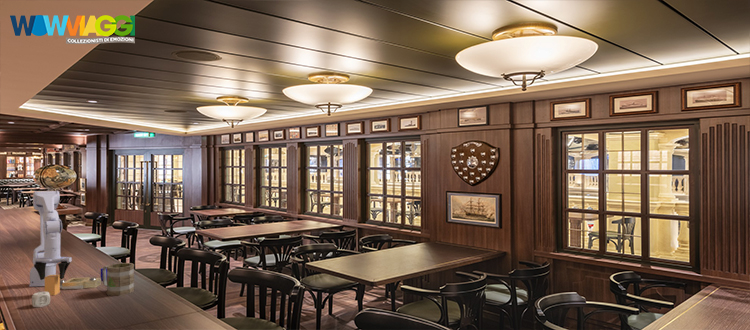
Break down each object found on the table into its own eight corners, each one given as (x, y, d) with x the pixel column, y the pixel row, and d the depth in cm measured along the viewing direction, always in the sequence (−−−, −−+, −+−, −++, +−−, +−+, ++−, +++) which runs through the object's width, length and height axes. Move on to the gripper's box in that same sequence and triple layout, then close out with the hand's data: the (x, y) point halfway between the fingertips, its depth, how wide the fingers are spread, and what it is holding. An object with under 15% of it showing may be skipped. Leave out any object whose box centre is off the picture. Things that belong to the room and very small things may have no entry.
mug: (139, 290, 200) (140, 263, 199) (118, 297, 189) (119, 269, 189) (113, 286, 205) (114, 261, 205) (92, 293, 194) (92, 266, 194)
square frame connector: (50, 289, 199) (50, 281, 199) (60, 284, 207) (60, 277, 207) (94, 288, 202) (94, 280, 202) (102, 283, 210) (102, 275, 210)
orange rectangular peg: (44, 295, 190) (44, 277, 190) (49, 292, 194) (49, 274, 194) (54, 295, 191) (54, 276, 191) (59, 292, 195) (59, 274, 195)
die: (46, 302, 181) (46, 290, 181) (50, 305, 178) (50, 293, 178) (31, 305, 177) (31, 293, 177) (35, 308, 174) (35, 295, 174)
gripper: (28, 250, 187) (28, 282, 187) (65, 249, 190) (65, 280, 190) (38, 247, 194) (38, 277, 194) (74, 246, 197) (74, 276, 197)
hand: (52, 278), depth 193 cm, fingers open, 7 cm apart
